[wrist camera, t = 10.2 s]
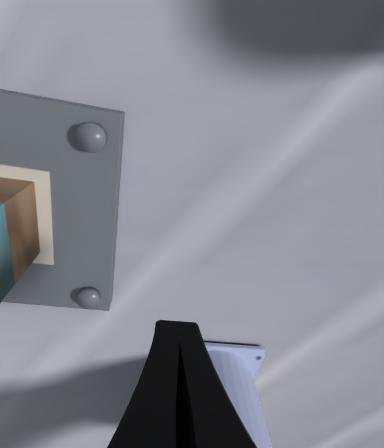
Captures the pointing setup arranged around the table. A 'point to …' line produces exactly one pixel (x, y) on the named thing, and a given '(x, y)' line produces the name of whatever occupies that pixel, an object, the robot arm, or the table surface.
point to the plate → (65, 195)
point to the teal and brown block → (17, 231)
